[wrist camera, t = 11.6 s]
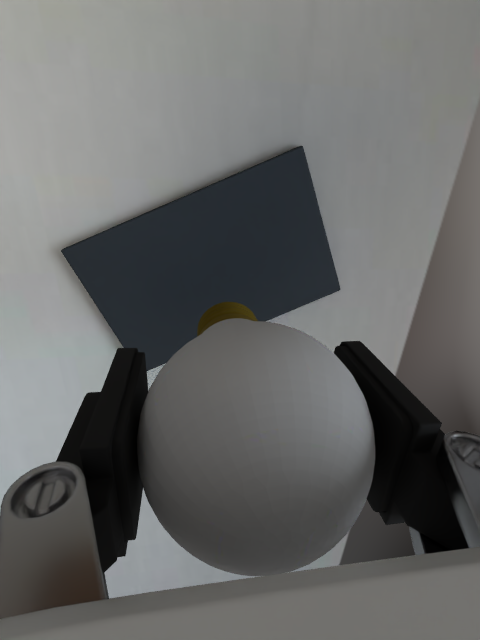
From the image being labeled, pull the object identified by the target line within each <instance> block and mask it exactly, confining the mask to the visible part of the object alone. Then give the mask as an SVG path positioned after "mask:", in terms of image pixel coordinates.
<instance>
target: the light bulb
mask: <svg viewBox="0 0 480 640" xmlns="http://www.w3.org/2000/svg"><path fill="white" fill-rule="evenodd" d="M137 457H138V468H139V473H140V477H141V481H142V484H143V488H144V491H145V494H146V497H147V499H148V501H149V504H150V506H151V507H152V509H153V511H154V513H155V515H156V516H157V518H158V520H159V522H160V523H161V524H162V526H163V527H164V528H165V530H166V531H167V532H168V533H169V534H170V535H171V537H172V538H173V539H174V540H175V541H176V542H177V543H178V544H179V545H180V546H181V547H183V548H184V549H185V550H186V551H188V552H189V553H190V554H192V555H193V556H194V557H196V558H198V559H199V560H201V561H203V562H205V563H207V564H208V565H210V566H213V567H215V568H218V569H220V570H223V571H226V572H230V573H234V574H239V575H247V576H268V575H275V574H281V573H286V572H291V571H293V570H296V569H298V568H301V567H303V566H306V565H308V564H310V563H312V562H313V561H315V560H317V559H318V558H320V557H321V556H323V555H324V554H326V553H327V552H328V551H330V550H331V549H332V548H333V547H334V546H335V545H336V544H337V543H338V542H339V541H340V540H341V539H342V538H343V537H344V536H345V535H346V534H347V532H348V531H349V530H350V528H351V527H352V526H353V524H354V523H355V521H356V519H357V518H358V515H359V514H360V512H361V510H362V508H363V506H364V504H365V501H366V499H367V496H368V493H369V490H370V487H371V483H372V479H373V472H374V465H375V438H374V428H373V423H372V419H371V416H370V412H369V409H368V406H367V402H366V400H365V397H364V395H363V393H362V391H361V390H360V388H359V386H358V384H357V382H356V380H355V379H354V377H353V375H352V374H351V373H350V371H349V370H348V369H347V368H346V366H345V365H344V364H343V363H342V362H341V360H340V359H339V358H338V357H337V356H336V355H335V354H334V353H333V352H332V351H330V350H329V349H328V348H327V347H325V346H324V345H323V344H322V343H320V342H319V341H318V340H316V339H314V338H313V337H311V336H309V335H307V334H305V333H303V332H301V331H299V330H297V329H294V328H291V327H288V326H285V325H281V324H277V323H271V322H265V321H258V320H257V319H256V317H255V315H254V314H253V312H252V311H251V310H250V309H249V308H247V307H246V306H244V305H242V304H240V303H236V302H222V303H219V304H216V305H214V306H212V307H211V308H209V309H208V310H207V311H206V312H205V313H204V314H203V315H202V317H201V318H200V321H199V323H198V329H197V337H196V338H194V339H193V340H191V341H190V342H188V343H187V344H185V345H184V346H183V347H182V348H181V349H180V350H178V351H177V352H176V353H175V354H174V355H173V356H172V357H171V358H170V359H169V361H168V362H167V363H166V364H165V365H164V367H163V368H162V369H161V370H160V372H159V374H158V375H157V377H156V379H155V380H154V382H153V384H152V385H151V387H150V389H149V391H148V394H147V397H146V400H145V402H144V405H143V408H142V411H141V415H140V420H139V427H138V434H137Z"/></svg>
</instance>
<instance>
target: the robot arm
mask: <svg viewBox="0 0 480 640" xmlns="http://www.w3.org/2000/svg"><path fill="white" fill-rule="evenodd" d="M334 354H335V355H336V356H337V357H338V358H339V359H340V360H341V362H342V363H343V364H344V365H345V366H346V368H347V369H348V370H349V371H350V373H351V374H352V375H353V377H354V379H355V380H356V382H357V384H358V386H359V388H360V390H361V391H362V393H363V395H364V397H365V400H366V402H367V406H368V409H369V412H370V416H371V419H372V423H373V428H374V438H375V465H374V472H373V479H372V483H371V487H370V490H369V493H368V496H367V500H368V502H369V504H370V506H371V507H372V509H373V510H374V511H375V512H379V513H380V515H381V517H382V519H383V521H384V522H385V524H386V525H388V524H397V523H404V522H405V523H406V524H407V525H408V526H410V534H411V538H412V542H413V547H414V551H415V555H414V556H406V557H399V558H392V559H384V560H377V561H370V562H362V563H355V564H347V565H340V566H333V567H325V568H318V569H311V570H304V571H296V572H289V573H282V574H275V575H268V576H261V577H254V578H246V579H239V580H232V581H225V582H218V583H211V584H204V585H197V586H190V587H183V588H176V589H169V590H162V591H155V592H148V593H142V594H136V595H129V596H123V597H117V598H111V599H109V596H108V590H107V585H106V579H105V574H104V572H105V571H106V570H107V569H108V568H109V567H110V566H111V565H112V564H114V563H115V562H116V561H117V557H122V556H125V555H126V549H127V542H128V540H135V539H136V534H137V527H138V520H139V513H140V506H141V498H142V491H143V484H142V481H141V477H140V473H139V468H138V457H137V434H138V427H139V420H140V415H141V411H142V408H143V405H144V402H145V400H146V397H147V394H148V383H147V371H146V359H145V353H144V352H138V348H118V349H117V351H116V354H115V357H114V359H113V362H112V364H111V367H110V370H109V372H108V375H107V378H106V380H105V383H104V385H103V388H102V391H101V392H91V393H87V394H86V396H85V397H84V400H83V402H82V404H81V406H80V409H79V411H78V413H77V415H76V418H75V420H74V422H73V424H72V427H71V429H70V431H69V433H68V436H67V438H66V440H65V442H64V445H63V447H62V449H61V451H60V454H59V456H58V458H57V460H56V462H52V463H48V464H43V465H41V466H39V467H36V468H34V469H32V470H30V471H29V472H27V473H26V474H24V475H22V476H21V477H20V478H19V479H18V480H16V481H15V482H14V483H13V484H12V485H11V486H10V488H9V489H8V491H7V492H6V494H5V495H4V497H3V501H2V504H1V511H0V640H480V436H478V435H475V434H471V433H468V432H461V431H454V432H449V433H448V434H446V435H445V434H444V433H443V432H442V431H441V430H440V427H441V424H442V423H441V422H440V421H439V420H438V419H437V418H436V417H435V416H434V415H433V414H432V413H431V412H430V411H429V410H428V409H427V408H426V407H425V406H424V405H423V404H422V403H421V402H420V401H419V400H418V399H417V398H416V397H415V396H414V395H413V394H412V393H411V392H410V391H409V390H408V389H407V388H406V387H405V386H404V385H403V384H402V383H401V382H400V381H399V380H398V379H397V378H396V377H395V376H394V375H393V374H392V373H391V372H390V371H389V370H388V369H387V368H386V367H385V366H384V365H383V363H382V362H381V361H380V360H379V359H378V358H377V357H376V356H375V355H374V354H373V353H372V352H371V351H370V350H369V349H368V348H367V347H366V346H365V345H364V344H363V343H362V342H360V341H346V342H342V343H341V344H340V346H337V347H336V348H335V351H334Z"/></svg>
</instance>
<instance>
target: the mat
mask: <svg viewBox="0 0 480 640" xmlns="http://www.w3.org/2000/svg"><path fill="white" fill-rule="evenodd" d="M61 252H62V253H63V255H64V256H65V258H66V260H67V261H68V263H69V264H70V266H71V267H72V269H73V270H74V272H75V273H76V275H77V276H78V278H79V279H80V281H81V283H82V284H83V286H84V287H85V289H86V290H87V292H88V293H89V295H90V296H91V298H92V299H93V301H94V303H95V304H96V306H97V307H98V309H99V310H100V312H101V313H102V315H103V316H104V318H105V319H106V321H107V322H108V324H109V326H110V327H111V329H112V330H113V332H114V333H115V335H116V336H117V338H118V339H119V341H120V342H121V344H122V346H123V347H124V348H138V352H144V353H145V359H146V371H148V370H150V369H153V368H155V367H157V366H160V365H162V364H165V363H167V362H168V361H169V359H170V358H171V357H172V356H173V355H174V354H175V353H176V352H177V351H178V350H180V349H181V348H182V347H183V346H184V345H185V344H187V343H188V342H190V341H191V340H193V339H194V338H196V337H197V329H198V323H199V321H200V318H201V317H202V315H203V314H204V313H205V312H206V311H207V310H208V309H209V308H211V307H212V306H214V305H216V304H219V303H222V302H236V303H240V304H242V305H244V306H246V307H247V308H249V309H250V310H251V311H252V312H253V314H254V315H255V317H256V319H257V320H258V321H267V320H270V319H272V318H275V317H277V316H279V315H282V314H284V313H287V312H289V311H291V310H294V309H296V308H298V307H301V306H303V305H306V304H308V303H310V302H313V301H315V300H318V299H320V298H322V297H325V296H327V295H330V294H332V293H334V292H337V291H339V290H340V286H339V282H338V278H337V274H336V271H335V267H334V263H333V259H332V255H331V252H330V248H329V244H328V240H327V236H326V233H325V229H324V225H323V221H322V217H321V214H320V210H319V206H318V202H317V198H316V195H315V191H314V187H313V183H312V179H311V176H310V172H309V168H308V164H307V160H306V157H305V153H304V149H303V146H299V147H297V148H294V149H292V150H290V151H287V152H285V153H283V154H281V155H278V156H276V157H274V158H271V159H269V160H267V161H264V162H262V163H260V164H258V165H255V166H253V167H251V168H248V169H246V170H244V171H241V172H239V173H237V174H234V175H232V176H230V177H228V178H225V179H223V180H221V181H218V182H216V183H214V184H211V185H209V186H207V187H205V188H202V189H200V190H198V191H195V192H193V193H191V194H188V195H186V196H184V197H182V198H179V199H177V200H175V201H172V202H170V203H168V204H165V205H163V206H161V207H158V208H156V209H154V210H152V211H149V212H147V213H145V214H142V215H140V216H138V217H135V218H133V219H131V220H129V221H126V222H124V223H122V224H119V225H117V226H115V227H112V228H110V229H108V230H106V231H103V232H101V233H99V234H96V235H94V236H92V237H89V238H87V239H85V240H82V241H80V242H78V243H76V244H73V245H71V246H69V247H66V248H64V249H63V250H61Z"/></svg>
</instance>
